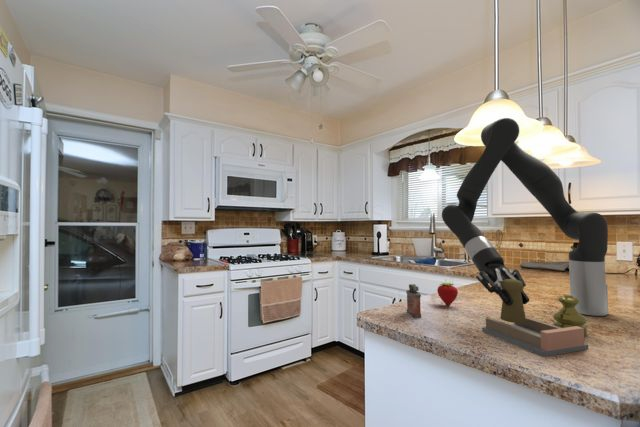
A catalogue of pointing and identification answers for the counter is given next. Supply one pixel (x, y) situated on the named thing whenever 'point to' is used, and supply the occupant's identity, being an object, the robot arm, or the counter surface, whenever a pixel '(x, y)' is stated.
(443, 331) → the counter surface
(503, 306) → the cork
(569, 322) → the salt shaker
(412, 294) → the lighter
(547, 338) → the guide track
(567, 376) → the counter surface
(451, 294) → the strawberry
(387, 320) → the counter surface
